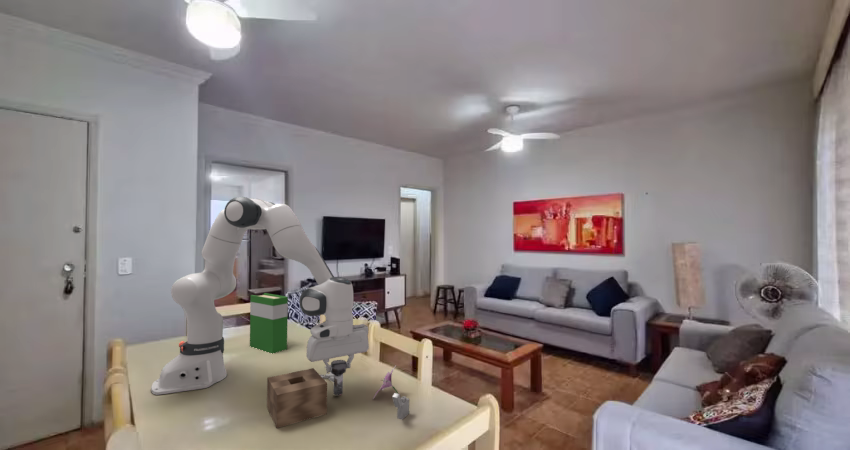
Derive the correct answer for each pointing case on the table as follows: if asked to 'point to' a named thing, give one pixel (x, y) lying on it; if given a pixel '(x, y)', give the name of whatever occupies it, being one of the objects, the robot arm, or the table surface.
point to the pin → (338, 375)
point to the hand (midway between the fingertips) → (338, 369)
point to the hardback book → (268, 322)
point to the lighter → (401, 405)
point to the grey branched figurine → (328, 376)
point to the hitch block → (296, 397)
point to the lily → (387, 381)
